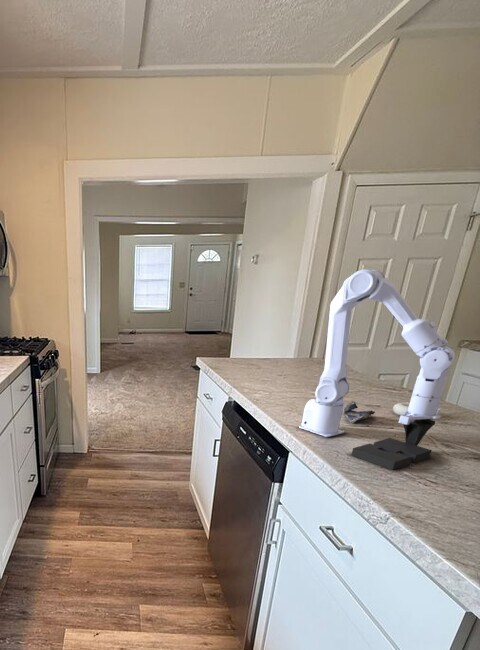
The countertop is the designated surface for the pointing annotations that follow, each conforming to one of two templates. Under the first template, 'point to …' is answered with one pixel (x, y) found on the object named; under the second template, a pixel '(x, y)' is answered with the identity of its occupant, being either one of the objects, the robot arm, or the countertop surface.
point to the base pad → (381, 456)
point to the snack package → (355, 413)
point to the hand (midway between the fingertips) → (411, 445)
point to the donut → (401, 408)
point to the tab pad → (404, 449)
